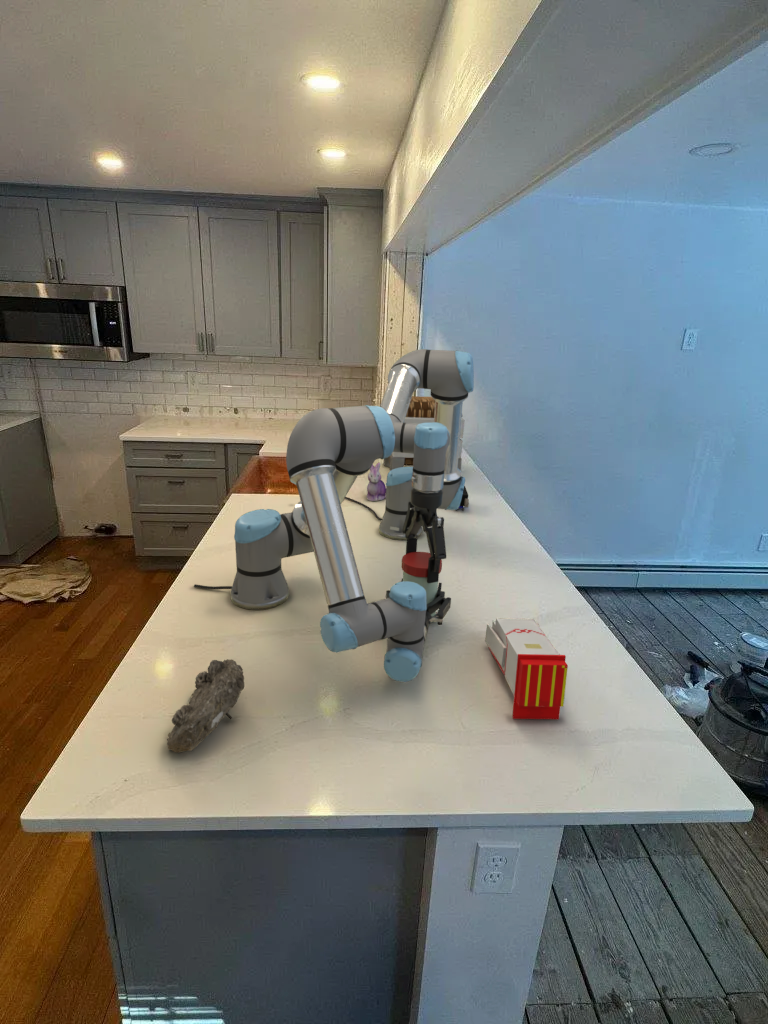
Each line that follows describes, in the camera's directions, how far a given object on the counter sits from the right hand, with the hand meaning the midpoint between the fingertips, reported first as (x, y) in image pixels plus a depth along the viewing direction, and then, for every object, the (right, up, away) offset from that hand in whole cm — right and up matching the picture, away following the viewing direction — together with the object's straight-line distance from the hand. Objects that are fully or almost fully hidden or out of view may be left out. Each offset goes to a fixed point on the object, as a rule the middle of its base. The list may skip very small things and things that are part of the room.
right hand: (421, 571), depth 143 cm
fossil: (-42, -24, -35) cm, 60 cm away
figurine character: (+21, +17, +87) cm, 91 cm away
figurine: (-13, +21, +93) cm, 96 cm away
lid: (0, +3, -1) cm, 3 cm away
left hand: (0, -4, +6) cm, 8 cm away
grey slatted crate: (+8, +34, +132) cm, 137 cm away
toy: (+20, -21, -19) cm, 35 cm away
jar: (-1, -12, +4) cm, 13 cm away
